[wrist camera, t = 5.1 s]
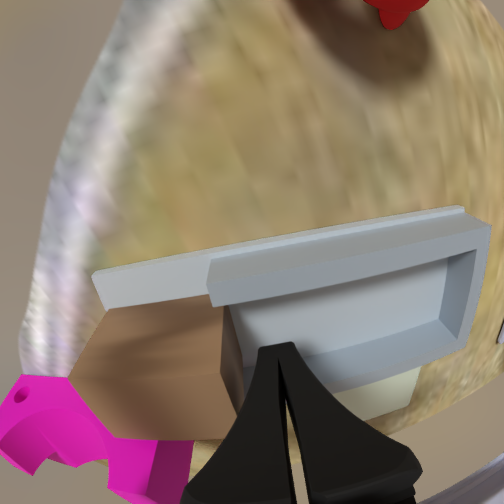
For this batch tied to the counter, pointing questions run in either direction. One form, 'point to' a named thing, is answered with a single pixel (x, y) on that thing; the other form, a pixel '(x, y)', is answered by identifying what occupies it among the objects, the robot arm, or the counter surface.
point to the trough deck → (333, 292)
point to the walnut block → (163, 371)
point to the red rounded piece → (395, 10)
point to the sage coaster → (380, 395)
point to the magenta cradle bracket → (87, 442)
